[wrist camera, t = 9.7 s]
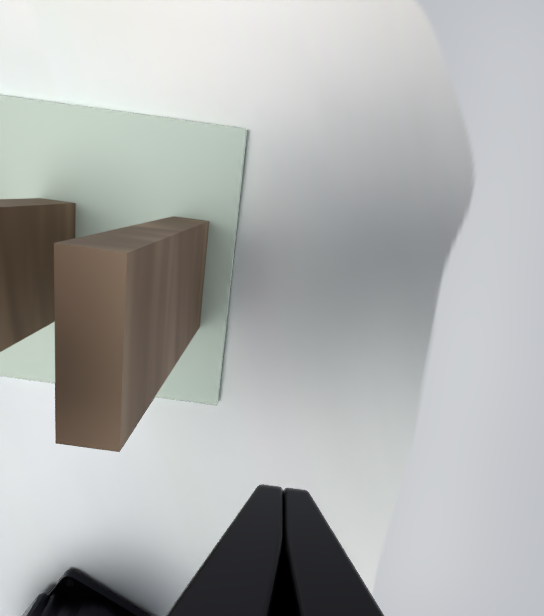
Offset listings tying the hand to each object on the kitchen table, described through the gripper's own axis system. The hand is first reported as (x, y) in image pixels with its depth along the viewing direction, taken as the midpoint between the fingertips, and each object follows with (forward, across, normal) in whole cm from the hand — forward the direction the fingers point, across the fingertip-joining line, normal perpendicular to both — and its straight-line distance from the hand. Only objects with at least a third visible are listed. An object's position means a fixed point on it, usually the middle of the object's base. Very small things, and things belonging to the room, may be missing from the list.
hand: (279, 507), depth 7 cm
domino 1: (+13, +5, -1) cm, 14 cm away
